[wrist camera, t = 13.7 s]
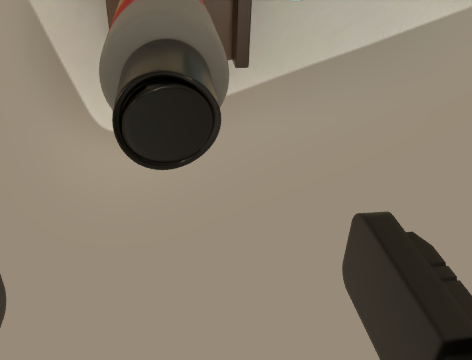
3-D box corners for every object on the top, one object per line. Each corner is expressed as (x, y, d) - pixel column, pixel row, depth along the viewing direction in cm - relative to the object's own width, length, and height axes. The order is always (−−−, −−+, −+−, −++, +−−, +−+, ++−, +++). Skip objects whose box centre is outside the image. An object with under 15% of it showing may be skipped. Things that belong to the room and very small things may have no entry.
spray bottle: (158, -57, 30) (158, 5, 13) (218, 5, 33) (282, 123, 16) (104, 8, 31) (45, 136, 15) (166, 62, 34) (175, 222, 17)
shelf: (117, 42, 38) (110, 69, 32) (107, -60, 34) (96, -50, 28) (235, 42, 39) (248, 67, 33) (238, -56, 35) (254, -46, 29)
